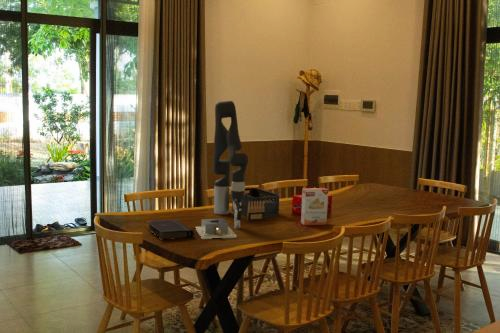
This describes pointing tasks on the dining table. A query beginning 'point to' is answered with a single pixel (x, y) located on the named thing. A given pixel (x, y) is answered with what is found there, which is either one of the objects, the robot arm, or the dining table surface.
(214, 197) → the robot arm
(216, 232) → the grey stand
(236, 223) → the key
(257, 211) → the ammunition clip
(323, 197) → the cracker box
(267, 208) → the storage bin
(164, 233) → the diary
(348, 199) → the dining table surface
